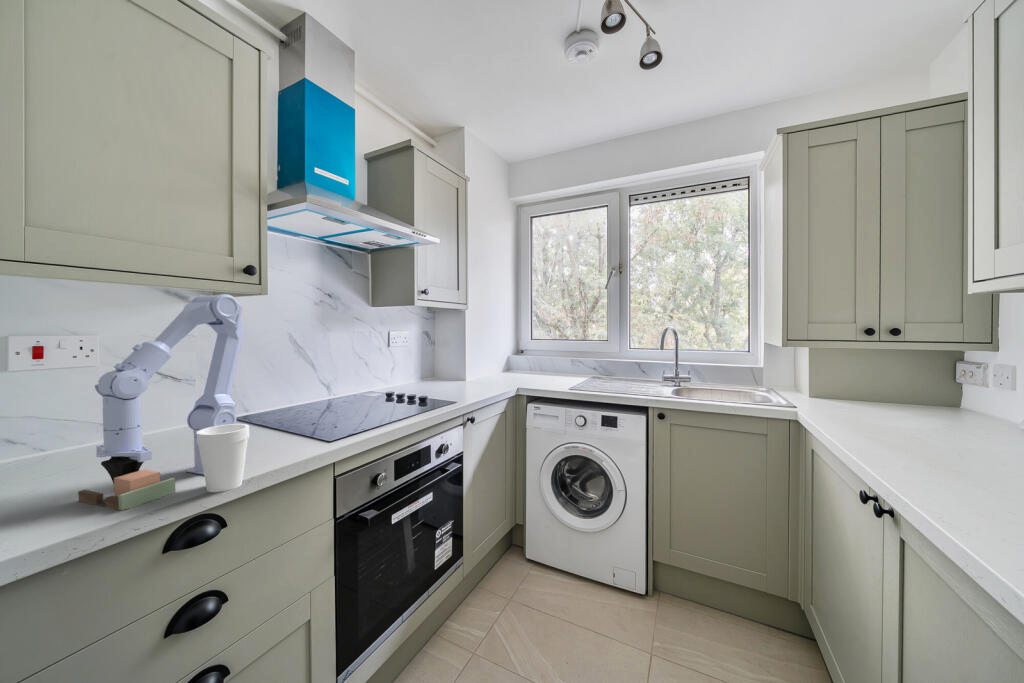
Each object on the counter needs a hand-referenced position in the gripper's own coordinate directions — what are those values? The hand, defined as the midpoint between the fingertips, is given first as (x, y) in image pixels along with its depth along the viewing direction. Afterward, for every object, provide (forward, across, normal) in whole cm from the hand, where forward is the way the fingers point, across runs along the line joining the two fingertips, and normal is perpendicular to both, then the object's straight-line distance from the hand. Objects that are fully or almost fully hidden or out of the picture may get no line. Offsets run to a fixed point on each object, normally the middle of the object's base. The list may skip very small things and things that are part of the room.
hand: (124, 491), depth 80 cm
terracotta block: (+1, +4, 0) cm, 4 cm away
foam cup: (+1, +15, +10) cm, 18 cm away
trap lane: (+1, +1, 0) cm, 1 cm away
